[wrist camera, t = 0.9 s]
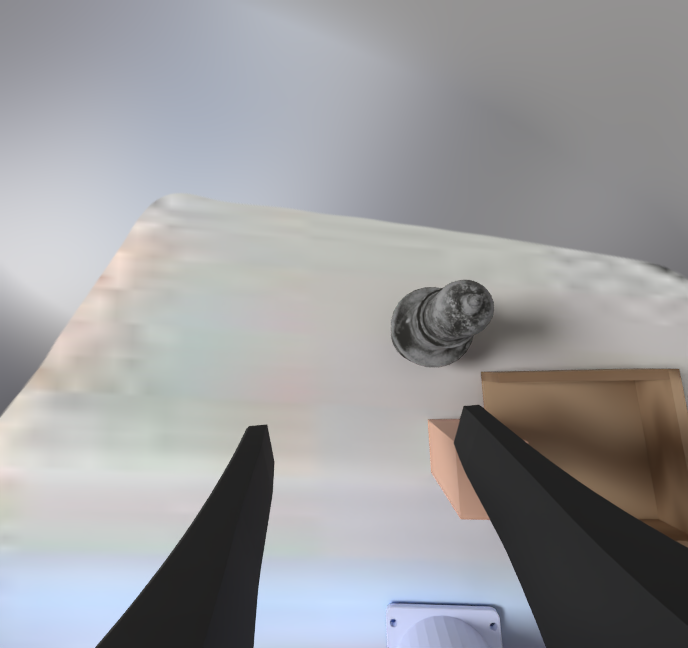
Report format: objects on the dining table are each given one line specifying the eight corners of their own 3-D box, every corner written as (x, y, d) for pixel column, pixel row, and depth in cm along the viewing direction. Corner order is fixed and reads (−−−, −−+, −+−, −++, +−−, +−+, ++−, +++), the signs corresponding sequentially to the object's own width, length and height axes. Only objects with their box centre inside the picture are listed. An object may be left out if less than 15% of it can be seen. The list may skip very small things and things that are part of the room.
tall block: (483, 472, 22) (537, 520, 15) (431, 472, 22) (460, 519, 15) (478, 418, 23) (528, 441, 16) (427, 419, 23) (454, 442, 16)
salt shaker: (471, 325, 24) (577, 285, 12) (430, 381, 23) (498, 397, 12) (414, 285, 25) (460, 210, 13) (373, 338, 24) (381, 312, 12)
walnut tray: (665, 526, 21) (715, 553, 18) (495, 524, 21) (516, 549, 19) (637, 368, 22) (679, 368, 19) (480, 371, 23) (497, 372, 20)
